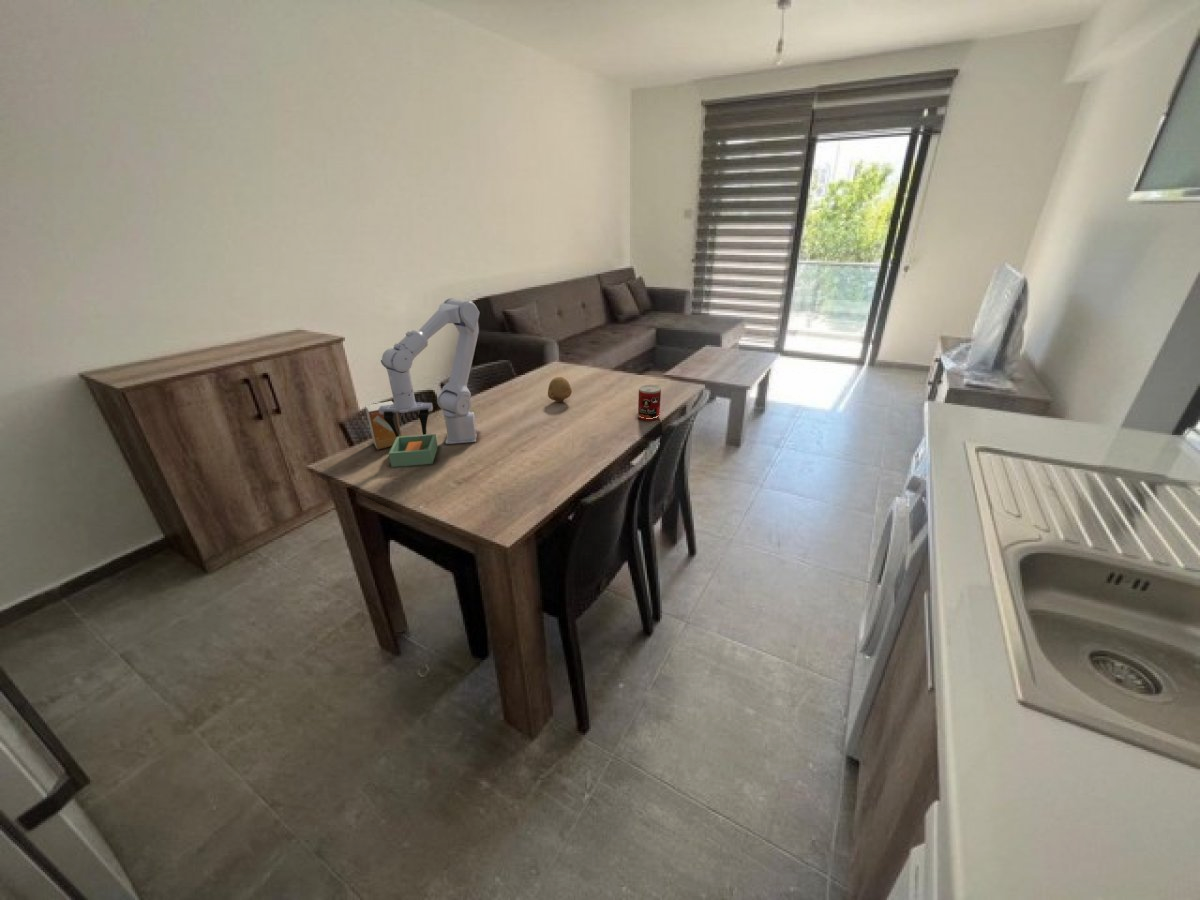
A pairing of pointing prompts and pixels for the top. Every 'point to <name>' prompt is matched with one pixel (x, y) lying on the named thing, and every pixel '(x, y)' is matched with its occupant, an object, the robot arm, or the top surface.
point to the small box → (380, 426)
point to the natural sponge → (559, 389)
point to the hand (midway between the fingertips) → (411, 434)
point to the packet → (415, 446)
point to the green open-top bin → (413, 451)
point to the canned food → (649, 402)
